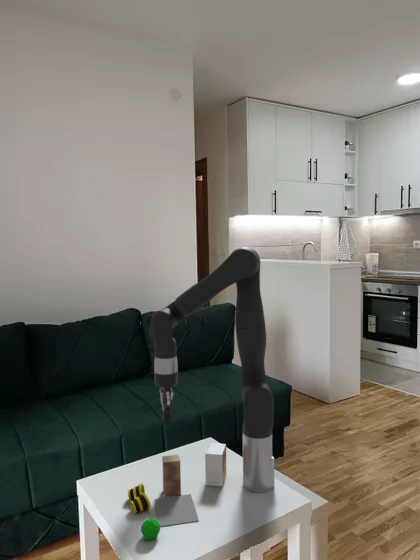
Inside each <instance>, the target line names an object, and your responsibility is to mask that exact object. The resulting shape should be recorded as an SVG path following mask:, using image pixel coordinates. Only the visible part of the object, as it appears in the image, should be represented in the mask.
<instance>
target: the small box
mask: <svg viewBox="0 0 420 560" xmlns="http://www.w3.org/2000/svg"><path fill="white" fill-rule="evenodd" d="M204 455H205V456H204V460H205V461H204V463H205V464H204V465H205V467H204V468H205V485H206V486H209V487H210V486H212V487H223V486H224V482H225V480H226V477H227V444H226V443H218V442H209V445H208V448H207V449H206V452H205V454H204Z"/></svg>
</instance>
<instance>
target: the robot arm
mask: <svg viewBox="0 0 420 560" xmlns="http://www.w3.org/2000/svg"><path fill="white" fill-rule="evenodd" d="M260 278H261V257H260V255H259V254H258V252H257V251H256V250H255V249H254V248H252V247H249V246H241V247H238V248H236V249H234V250H233V251H232V252H231V253H230V254H229V256H228V257H226V259H225V260H224V261H223V262H222V263H221V264H220V265H219V266H218V267H217V268H215V270H213V271H212V272H211V273H209V275H207V276H206V277H204V278H202V279H201V280H200V281H198V282H196V283H195V284H193V285H192V286H191V287H189V288H188V289H186V290H185V291H184V292H182V293H181V294H179V296H177V297H176V298H175V300H174V301H173V302H171V303H170V304H168V305H167V306H165V307H163V308H160V309H159V310H156V311H155V312H154V313H153V315H152V317H151V321H150V328H151V332H152V333H151V334H152V338H153V343H154V362H153V363H154V364H153V365H154V366H153V367H154V369H153V371H154V372H153V374H154V377H153V378H154V385H155V386H156V387H160V388H159V394H160V404H161V406H162V407H161V410H162V419H163V423H165V424H167V423H170V422H171V412H172V410H173V403H174V400H173V396H174V390H173V387H175V386H177V385H178V383H179V375H178V372H179V370H178V369H179V367H178V357H177V355H178V353H177V352H178V351H177V350H178V349H177V348H178V346H177V341H176V338H174V336H173V328H175V327H177V325H179V324H180V323H181V322H183V321H184V320H185V319H186V318H187V317H189V316H191V315H193V314H194V313H196V312H197V311H198V310H200V309H201V308H202V307H204V306H205V305H206V304H207V303H209V302H210V301H211V300H212V299H213V298H215V297H216V296H217V295H218V294H220V293H221V292H223V291H224V290H225V289H227V288H228V287H230V286H231V285H234V284H236V285H235V286H236V304H235V313H234V314H235V315H234V322H235V323H234V325H235V337H236V344H237V350H238V354H239V355H238V356H239V359H240V364H241V388H240V389H241V395H240V396H241V399H242V402H243V422H242V485H243V488H245V489H246V490H247V491H250V492H252V493H265V492H268V491H270V490H271V489H274V488H275V457H274V456H273V428H274V427H273V426H274V423H275V418H274V417H275V416H274V415H275V400H274V399H275V398H274V395H273V392H272V391H271V389H270V387H269V384H268V380H267V376H266V375H267V374H266V369H265V355H266V348H267V330H266V329H267V328H266V321H265V312H264V305H263V301H262V294H261V279H260Z"/></svg>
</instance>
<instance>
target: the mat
mask: <svg viewBox="0 0 420 560" xmlns="http://www.w3.org/2000/svg"><path fill="white" fill-rule="evenodd" d="M193 500H194V499H193V496H192V494H190V493H189V494H183V495H182V494H181V495H179V496H172V497H161V498H160V497H159V498H154V503H155V511H156V516H157V521H158V523H159V524H160V528H161V527H169V526H177V525H184V524H189V523H195V522H199V521H200V520H199V516H198V514H197V510H196V507H195V506H196V505H195V503H194V501H193Z"/></svg>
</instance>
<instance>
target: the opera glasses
mask: <svg viewBox="0 0 420 560" xmlns="http://www.w3.org/2000/svg"><path fill="white" fill-rule="evenodd" d="M127 496H128V501H129V502H130V507H131V510H132V512H133V514H134V515H135V514H137V513H139V512H143V511H145V510H150V509H151V508H152V506H151V502H150V500H149V497H148V495H147V494H146V492H145V485H144V484H143V483H142V482H140V483H139V484H137V485H136V486H134V487H133V486H132V487H131V488H129V489H127Z"/></svg>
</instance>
